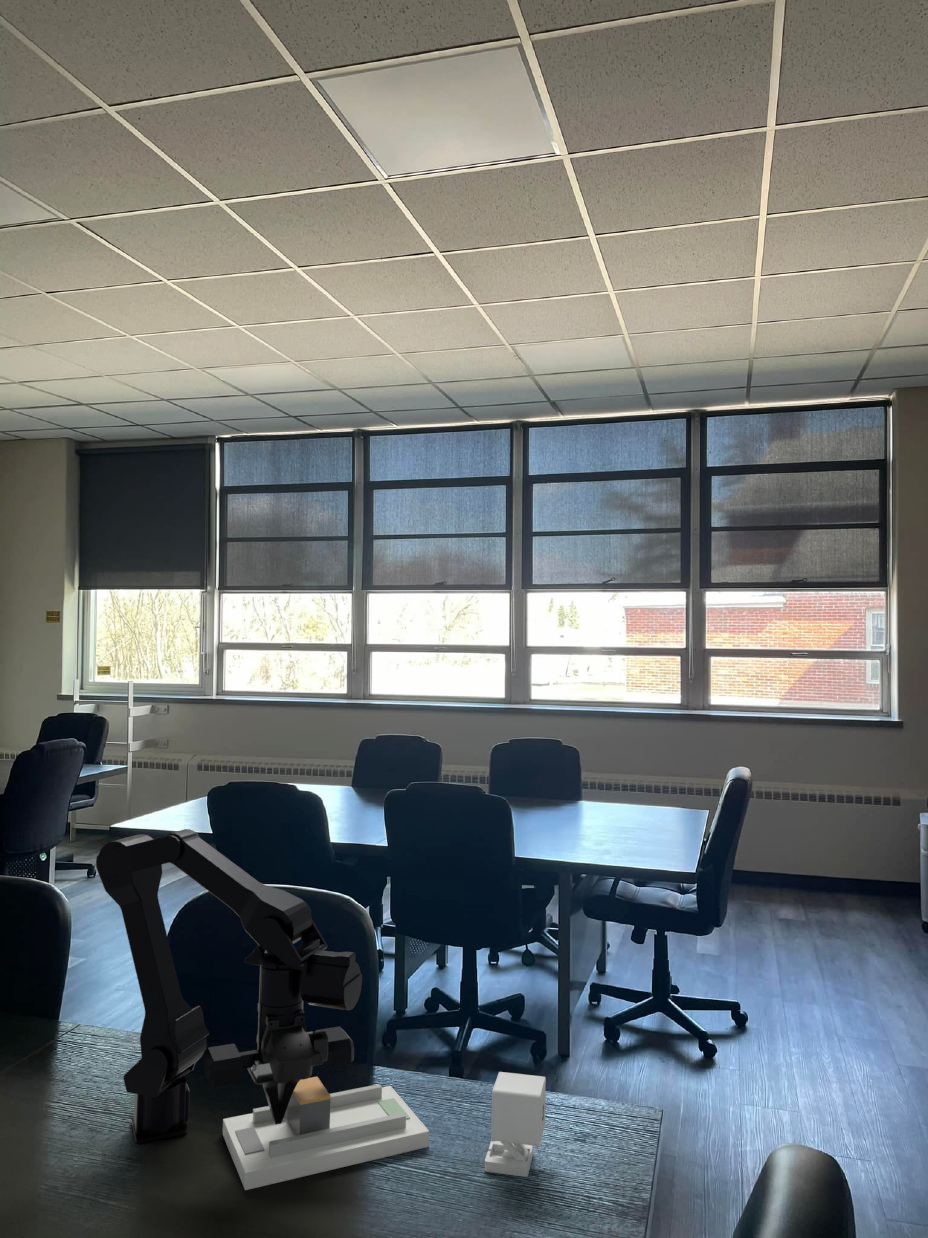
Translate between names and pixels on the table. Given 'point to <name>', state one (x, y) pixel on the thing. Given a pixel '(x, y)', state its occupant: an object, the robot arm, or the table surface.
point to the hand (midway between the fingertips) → (277, 1123)
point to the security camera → (515, 1122)
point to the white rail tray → (323, 1137)
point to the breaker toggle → (309, 1107)
